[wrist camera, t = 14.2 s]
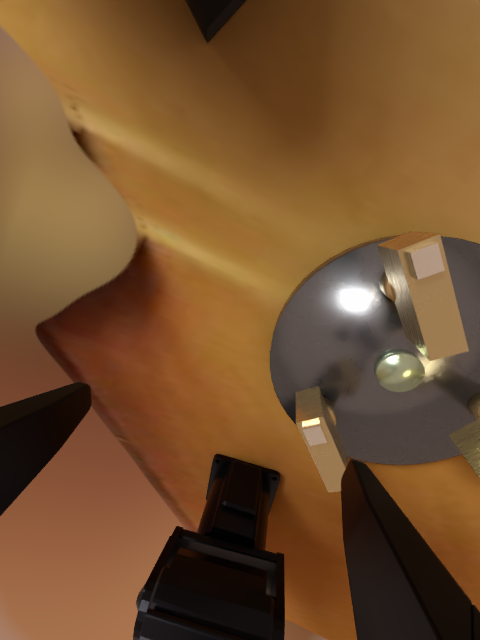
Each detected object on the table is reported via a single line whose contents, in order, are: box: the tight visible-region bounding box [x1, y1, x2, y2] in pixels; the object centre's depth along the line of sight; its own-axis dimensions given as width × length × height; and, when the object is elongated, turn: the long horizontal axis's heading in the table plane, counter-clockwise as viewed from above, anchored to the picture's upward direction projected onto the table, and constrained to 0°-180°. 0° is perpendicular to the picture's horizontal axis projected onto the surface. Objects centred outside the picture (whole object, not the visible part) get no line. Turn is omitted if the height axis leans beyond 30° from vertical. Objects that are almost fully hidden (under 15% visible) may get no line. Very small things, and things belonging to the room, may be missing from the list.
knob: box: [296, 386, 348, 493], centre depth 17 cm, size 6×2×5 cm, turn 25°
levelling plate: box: [270, 235, 480, 465], centre depth 18 cm, size 17×17×2 cm
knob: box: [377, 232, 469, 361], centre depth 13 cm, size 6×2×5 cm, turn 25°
